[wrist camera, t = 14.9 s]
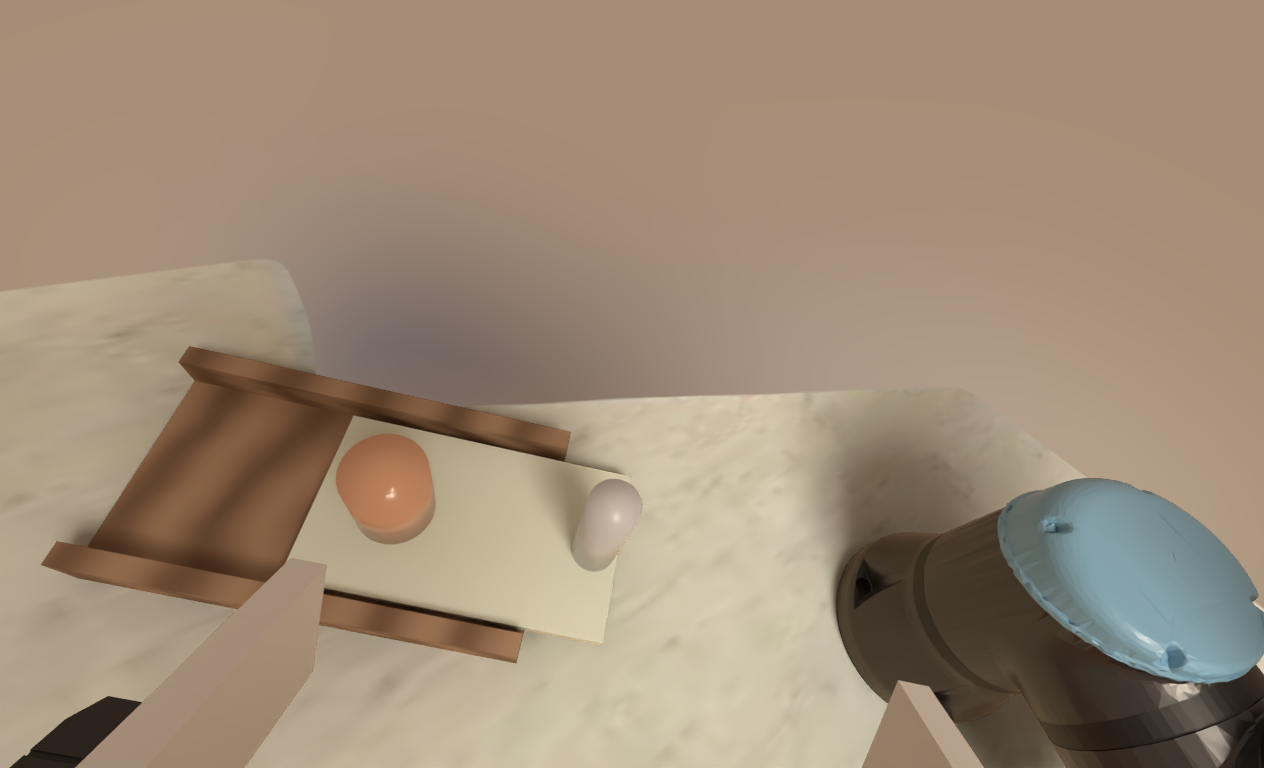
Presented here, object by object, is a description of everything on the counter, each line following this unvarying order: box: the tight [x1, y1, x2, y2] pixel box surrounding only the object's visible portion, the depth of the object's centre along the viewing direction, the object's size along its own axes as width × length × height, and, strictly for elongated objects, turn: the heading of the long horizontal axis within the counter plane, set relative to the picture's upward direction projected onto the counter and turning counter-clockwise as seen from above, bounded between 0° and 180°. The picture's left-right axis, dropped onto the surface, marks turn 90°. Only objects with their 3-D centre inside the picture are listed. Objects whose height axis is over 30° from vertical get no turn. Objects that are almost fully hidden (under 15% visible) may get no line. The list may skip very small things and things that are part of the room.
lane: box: [41, 346, 571, 663], centre depth 47 cm, size 32×18×4 cm, turn 81°
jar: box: [336, 434, 436, 544], centre depth 44 cm, size 6×6×7 cm
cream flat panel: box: [286, 416, 642, 645], centre depth 43 cm, size 24×14×12 cm, turn 81°
